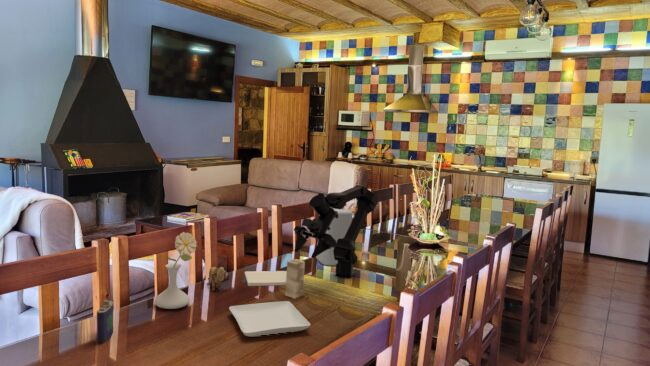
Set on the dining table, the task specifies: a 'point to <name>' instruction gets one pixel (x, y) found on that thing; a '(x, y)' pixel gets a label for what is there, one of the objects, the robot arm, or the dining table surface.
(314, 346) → the dining table surface
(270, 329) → the salad plate
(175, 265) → the flower in vase
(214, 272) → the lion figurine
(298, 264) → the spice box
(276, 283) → the platter
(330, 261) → the plastic bottle
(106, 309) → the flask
